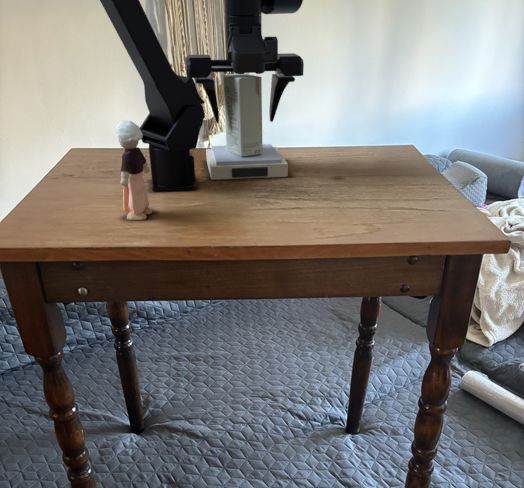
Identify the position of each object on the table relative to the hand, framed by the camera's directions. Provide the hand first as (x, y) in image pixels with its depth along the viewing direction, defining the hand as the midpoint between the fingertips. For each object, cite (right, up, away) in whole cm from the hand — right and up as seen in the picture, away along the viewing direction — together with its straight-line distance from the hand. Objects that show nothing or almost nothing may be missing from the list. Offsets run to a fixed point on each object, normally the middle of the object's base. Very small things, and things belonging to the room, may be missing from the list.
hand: (244, 122), depth 95 cm
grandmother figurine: (-14, -20, -16) cm, 30 cm away
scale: (0, -7, +4) cm, 8 cm away
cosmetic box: (0, -4, +3) cm, 5 cm away
